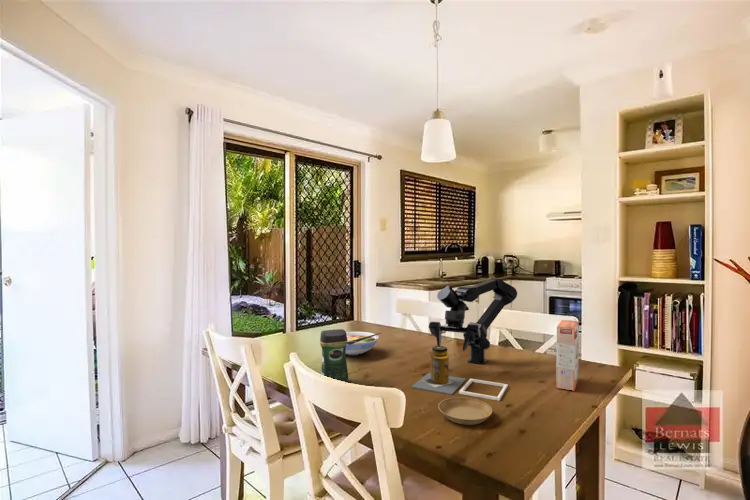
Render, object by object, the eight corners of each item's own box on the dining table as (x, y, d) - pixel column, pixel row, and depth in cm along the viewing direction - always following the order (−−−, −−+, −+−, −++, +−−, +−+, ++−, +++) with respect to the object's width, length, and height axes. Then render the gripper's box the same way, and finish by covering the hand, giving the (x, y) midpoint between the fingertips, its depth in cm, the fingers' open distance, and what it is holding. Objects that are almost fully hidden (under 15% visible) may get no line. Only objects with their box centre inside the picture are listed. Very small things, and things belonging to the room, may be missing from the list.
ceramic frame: (470, 380, 137) (470, 378, 137) (507, 386, 131) (507, 384, 131) (459, 393, 125) (459, 391, 125) (499, 400, 119) (499, 398, 119)
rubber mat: (428, 373, 145) (428, 372, 145) (465, 379, 138) (465, 378, 138) (411, 387, 131) (411, 386, 131) (451, 395, 124) (451, 393, 124)
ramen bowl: (351, 344, 190) (351, 327, 190) (390, 351, 177) (390, 333, 177) (315, 355, 170) (315, 337, 170) (356, 364, 157) (356, 344, 157)
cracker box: (576, 392, 125) (575, 327, 125) (555, 388, 128) (555, 325, 128) (579, 379, 137) (579, 320, 137) (560, 376, 140) (560, 319, 140)
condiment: (454, 382, 134) (453, 348, 134) (435, 387, 129) (435, 351, 129) (439, 377, 140) (439, 343, 140) (421, 381, 135) (421, 347, 135)
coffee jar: (345, 377, 142) (344, 326, 141) (350, 384, 134) (349, 331, 134) (318, 380, 139) (318, 328, 138) (322, 388, 131) (321, 333, 131)
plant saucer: (503, 425, 103) (503, 415, 103) (451, 431, 100) (451, 421, 100) (476, 403, 117) (476, 395, 117) (430, 408, 114) (430, 399, 114)
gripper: (429, 300, 151) (421, 335, 141) (478, 302, 143) (473, 339, 133) (435, 317, 158) (428, 351, 148) (482, 320, 150) (477, 356, 140)
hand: (450, 349), depth 142 cm, fingers open, 9 cm apart
